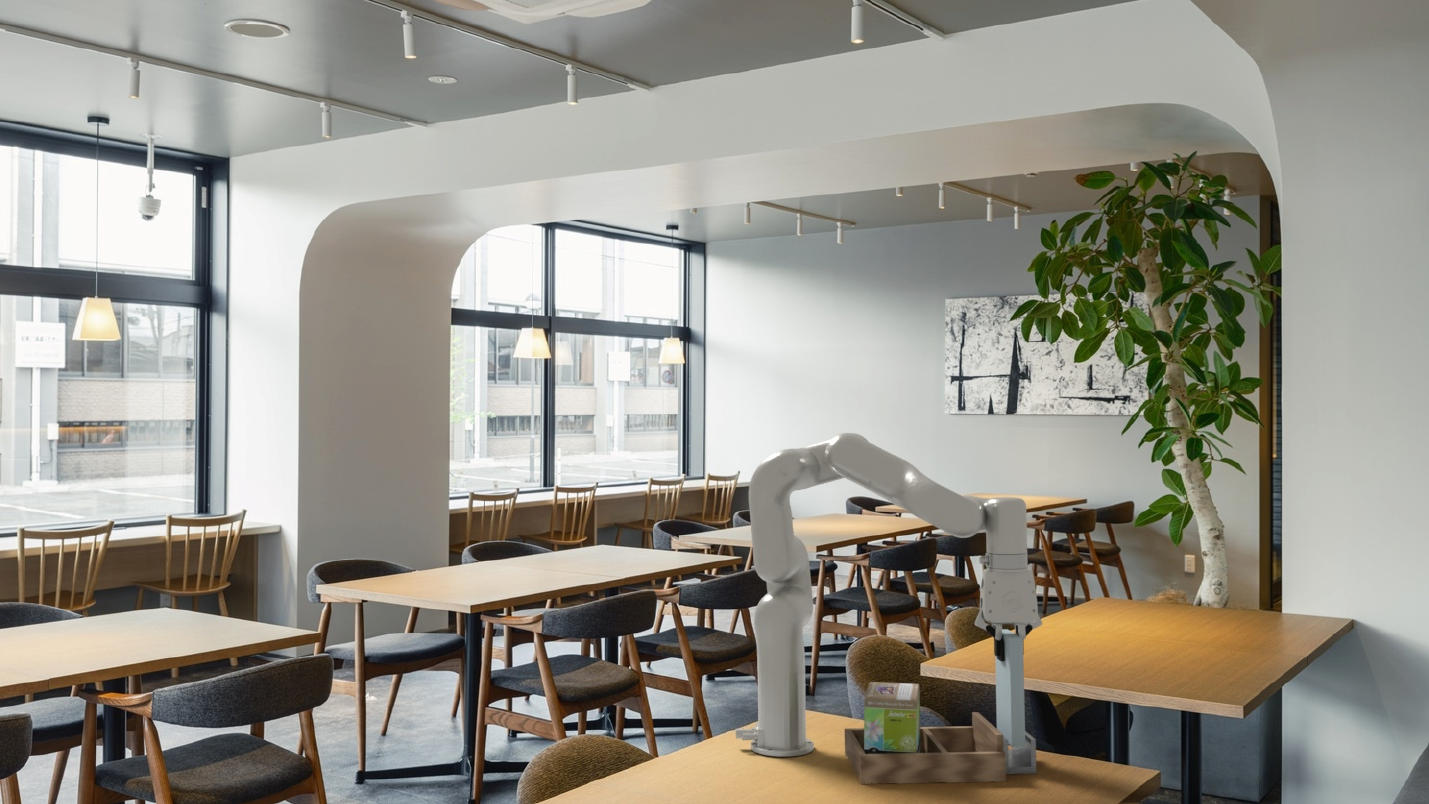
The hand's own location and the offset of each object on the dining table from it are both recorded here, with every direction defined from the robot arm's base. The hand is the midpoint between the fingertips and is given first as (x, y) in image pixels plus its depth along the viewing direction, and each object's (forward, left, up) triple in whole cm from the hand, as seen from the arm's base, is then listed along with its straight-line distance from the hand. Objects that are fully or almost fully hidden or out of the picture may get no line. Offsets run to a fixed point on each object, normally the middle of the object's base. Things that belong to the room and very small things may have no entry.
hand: (1009, 659), depth 219 cm
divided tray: (-17, 0, -20) cm, 26 cm away
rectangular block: (0, 0, -15) cm, 15 cm away
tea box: (-23, 0, -20) cm, 30 cm away
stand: (0, 0, -20) cm, 20 cm away
